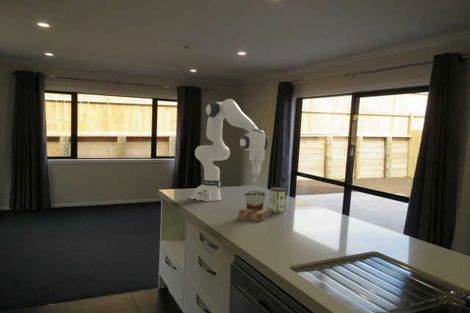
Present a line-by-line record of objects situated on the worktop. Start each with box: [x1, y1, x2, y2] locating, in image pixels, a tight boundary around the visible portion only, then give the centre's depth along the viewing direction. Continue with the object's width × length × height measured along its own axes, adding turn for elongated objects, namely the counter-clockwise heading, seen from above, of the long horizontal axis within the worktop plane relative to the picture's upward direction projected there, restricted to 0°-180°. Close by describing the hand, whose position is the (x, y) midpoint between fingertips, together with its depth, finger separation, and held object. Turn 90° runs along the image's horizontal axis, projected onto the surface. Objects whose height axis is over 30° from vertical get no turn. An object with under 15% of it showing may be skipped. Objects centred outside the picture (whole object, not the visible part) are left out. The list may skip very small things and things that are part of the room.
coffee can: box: [269, 186, 287, 213], centre depth 220 cm, size 10×10×14 cm
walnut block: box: [238, 206, 272, 222], centre depth 202 cm, size 14×16×5 cm
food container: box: [244, 190, 266, 210], centre depth 203 cm, size 12×6×10 cm, turn 89°
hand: (255, 180), depth 201 cm, fingers open, 8 cm apart
